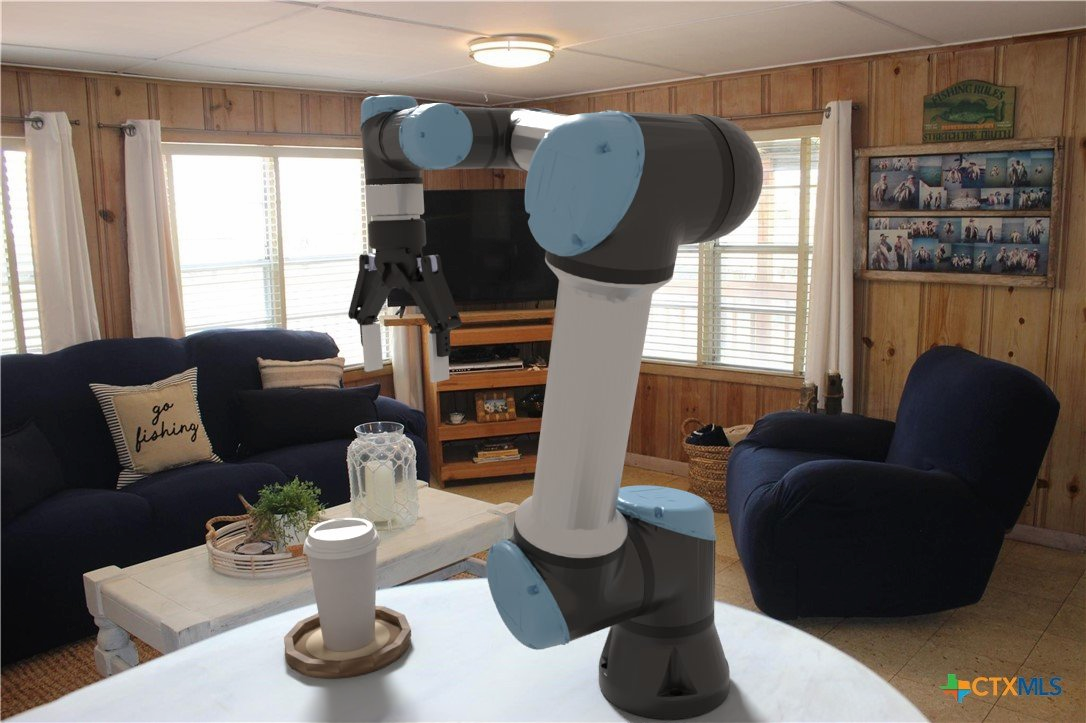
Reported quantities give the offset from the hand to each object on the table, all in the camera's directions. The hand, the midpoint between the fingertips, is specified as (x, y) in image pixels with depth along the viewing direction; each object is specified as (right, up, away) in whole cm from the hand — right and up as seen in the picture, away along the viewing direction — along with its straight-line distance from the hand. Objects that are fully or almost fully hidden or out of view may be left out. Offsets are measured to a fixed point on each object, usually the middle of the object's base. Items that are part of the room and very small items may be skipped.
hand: (405, 375), depth 123 cm
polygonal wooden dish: (-6, -35, -7) cm, 36 cm away
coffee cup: (-6, -34, -7) cm, 35 cm away
